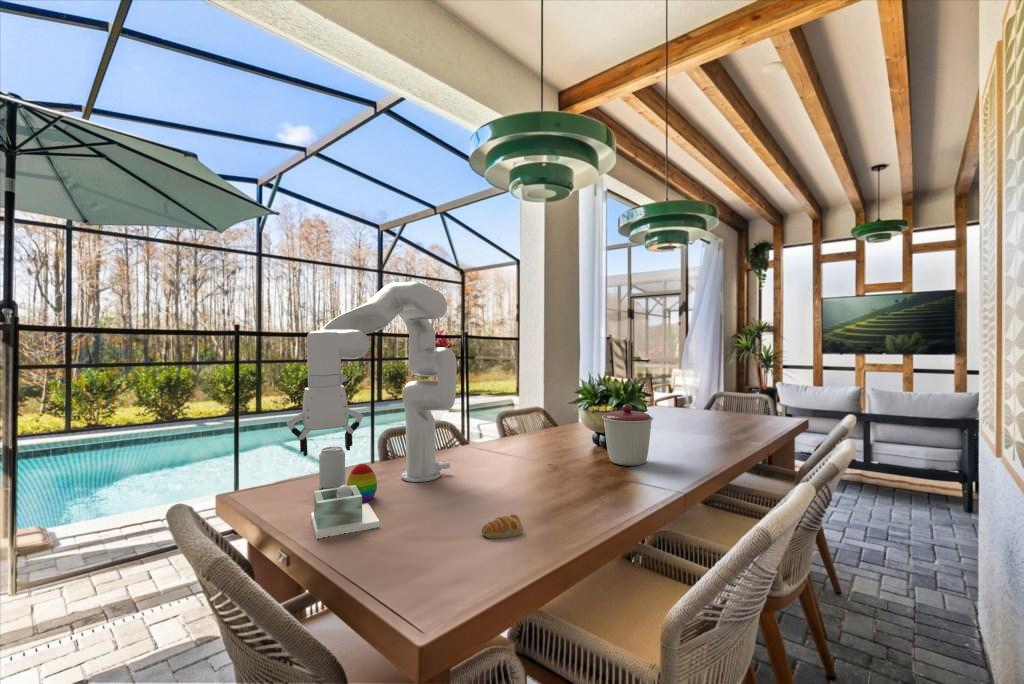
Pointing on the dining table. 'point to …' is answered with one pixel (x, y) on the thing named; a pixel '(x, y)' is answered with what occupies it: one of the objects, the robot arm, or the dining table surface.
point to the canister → (627, 436)
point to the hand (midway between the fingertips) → (326, 452)
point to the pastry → (503, 527)
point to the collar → (337, 508)
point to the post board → (367, 523)
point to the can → (331, 467)
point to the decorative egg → (363, 481)
